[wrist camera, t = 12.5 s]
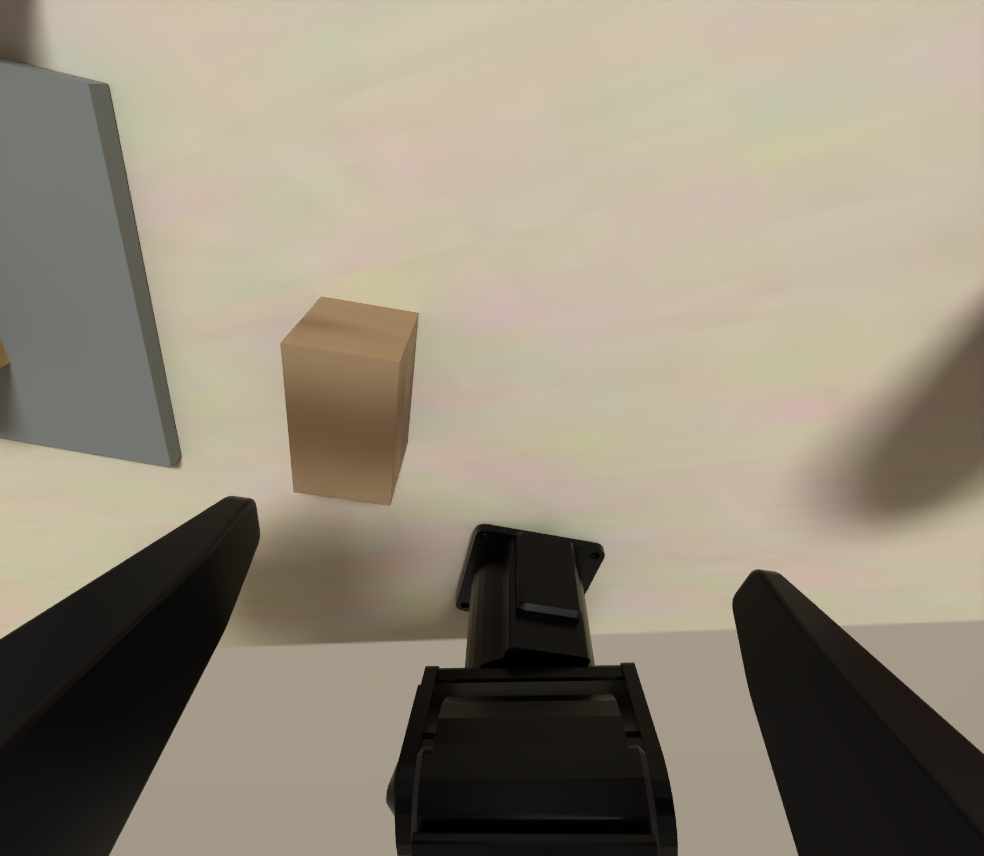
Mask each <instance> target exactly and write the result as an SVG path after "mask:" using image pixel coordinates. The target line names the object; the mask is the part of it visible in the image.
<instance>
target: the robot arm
mask: <svg viewBox="0 0 984 856" xmlns="http://www.w3.org/2000/svg"><path fill="white" fill-rule="evenodd" d="M483 534H488V535H483ZM259 538H260V527H259V521H258V514H257V507H256V503H255V501H254V500H253V499H251V498H245V497H237V496H228V497H226V498H224V499H222V500H221V501H219V502H217V503H216V504H214V505H213V506H211V507H209V508H208V509H206V510H205V511H203V512H201V513H200V514H198V515H197V516H195V517H194V518H192V519H190V520H189V521H187V522H186V523H184V524H182V525H181V526H179V527H178V528H176V529H174V530H173V531H171V532H170V533H168V534H167V535H165V536H163V537H162V538H160V539H159V540H157V541H155V542H154V543H152V544H151V545H149V546H147V547H146V548H144V549H143V550H141V551H140V552H138V553H136V554H135V555H133V556H132V557H130V558H128V559H127V560H125V561H124V562H122V563H120V564H119V565H117V566H116V567H114V568H113V569H111V570H109V571H108V572H106V573H105V574H103V575H101V576H100V577H98V578H97V579H95V580H93V581H92V582H90V583H89V584H87V585H86V586H84V587H82V588H81V589H79V590H78V591H76V592H74V593H73V594H71V595H70V596H68V597H66V598H65V599H63V600H62V601H60V602H59V603H57V604H55V605H54V606H52V607H51V608H49V609H47V610H46V611H44V612H43V613H41V614H39V615H38V616H36V617H35V618H33V619H32V620H30V621H28V622H27V623H25V624H24V625H22V626H20V627H19V628H17V629H16V630H14V631H12V632H11V633H9V634H8V635H6V636H5V637H3V638H1V639H0V856H109V854H110V853H111V851H112V849H113V847H114V845H115V843H116V841H117V839H118V837H119V835H120V833H121V831H122V829H123V827H124V825H125V823H126V822H127V819H128V818H129V816H130V814H131V812H132V810H133V808H134V806H135V804H136V802H137V800H138V798H139V796H140V794H141V792H142V790H143V789H144V786H145V785H146V783H147V781H148V779H149V776H150V775H151V773H152V771H153V769H154V767H155V765H156V763H157V761H158V759H159V757H160V755H161V753H162V752H163V750H164V748H165V746H166V744H167V742H168V740H169V738H170V736H171V734H172V732H173V730H174V728H175V726H176V724H177V723H178V721H179V718H180V717H181V715H182V713H183V711H184V709H185V707H186V705H187V703H188V701H189V699H190V697H191V695H192V693H193V691H194V689H195V687H196V686H197V684H198V682H199V680H200V678H201V676H202V674H203V672H204V670H205V668H206V666H207V664H208V662H209V660H210V658H211V656H212V654H213V653H214V650H215V649H216V647H217V645H218V643H219V641H220V639H221V637H222V635H223V633H224V631H225V628H226V626H227V624H228V621H229V619H230V616H231V614H232V611H233V609H234V606H235V604H236V601H237V598H238V596H239V593H240V591H241V588H242V585H243V583H244V580H245V577H246V575H247V572H248V570H249V567H250V564H251V562H252V559H253V557H254V554H255V551H256V549H257V546H258V543H259ZM604 556H605V554H604V549H603V546H602V545H600V544H598V543H593V542H587V541H582V540H576V539H570V538H564V537H558V536H552V535H547V534H541V533H535V532H529V531H523V530H518V529H512V528H506V527H500V526H494V525H488V524H483V525H480V526H478V527H477V528H476V530H475V534H474V537H473V541H472V545H471V548H470V552H469V555H468V559H467V562H466V566H465V570H464V573H463V577H462V580H461V584H460V587H459V591H458V595H457V599H456V607H457V608H458V609H460V610H463V611H469V622H468V636H467V649H466V663H465V668H439V666H426V667H425V671H424V675H423V679H422V682H421V685H418V688H417V692H416V695H415V699H414V703H413V707H412V711H411V715H410V719H409V722H408V726H407V730H406V734H405V738H404V742H403V745H402V749H401V753H400V757H399V761H398V763H397V765H396V768H395V770H394V773H393V776H392V778H391V780H390V783H389V785H388V789H387V797H386V801H387V805H388V806H389V808H390V809H391V811H392V813H393V814H394V816H395V835H396V848H397V854H398V856H677V855H678V845H677V844H678V842H677V828H676V818H675V811H674V805H673V797H672V792H671V787H670V781H669V777H668V772H667V768H666V764H665V760H664V757H663V753H662V750H661V747H660V743H659V740H658V737H657V734H656V731H655V727H654V724H653V721H652V718H651V715H650V712H649V708H648V705H647V702H646V699H645V696H644V692H643V690H642V686H641V683H640V680H639V677H638V673H637V670H636V667H635V664H634V663H620V665H605V666H604V665H601V666H595V664H594V657H593V650H592V643H591V636H590V630H589V623H588V616H587V610H586V603H585V596H584V595H585V593H586V591H587V590H588V588H589V586H590V584H591V582H592V580H593V578H594V576H595V574H596V572H597V570H598V569H599V567H600V565H601V563H602V561H603V559H604ZM732 607H733V614H734V619H735V624H736V629H737V634H738V639H739V644H740V649H741V654H742V659H743V664H744V668H745V674H746V679H747V683H748V688H749V692H750V696H751V699H752V703H753V706H754V710H755V713H756V716H757V720H758V723H759V726H760V729H761V733H762V736H763V739H764V743H765V746H766V749H767V753H768V756H769V759H770V763H771V766H772V769H773V772H774V776H775V779H776V782H777V786H778V789H779V792H780V796H781V799H782V802H783V806H784V809H785V812H786V816H787V819H788V822H789V826H790V829H791V832H792V835H793V839H794V842H795V845H796V849H797V852H798V855H799V856H984V754H983V753H982V752H981V751H980V750H979V749H977V748H976V747H975V746H974V745H973V744H972V743H971V742H970V741H968V740H967V739H966V738H965V737H964V736H963V735H962V734H961V733H959V732H958V731H957V730H956V729H955V728H954V727H953V726H952V725H950V724H949V723H948V722H947V721H946V720H945V719H943V718H942V717H941V716H940V715H939V714H938V713H937V712H936V711H935V710H934V709H932V708H931V707H930V706H929V705H928V704H927V703H926V702H924V701H923V700H922V699H921V698H920V697H919V696H918V695H916V694H915V693H914V692H913V691H912V690H911V689H910V688H909V687H908V686H906V685H905V684H904V683H903V682H902V681H901V680H899V679H898V678H897V677H896V676H895V675H894V674H893V673H892V672H891V671H889V670H888V669H887V668H886V667H885V666H884V665H883V664H881V663H880V662H879V661H878V660H877V659H876V658H875V657H874V656H872V655H871V654H870V653H869V652H868V651H867V650H866V649H865V648H863V647H862V646H861V645H860V644H859V643H858V642H857V641H856V640H854V639H853V638H852V637H851V636H850V635H849V634H848V633H847V632H845V631H844V630H843V629H842V628H841V627H840V626H839V625H838V624H836V623H835V622H834V621H833V620H832V619H831V618H830V617H828V616H827V615H826V614H825V613H824V612H823V611H822V610H821V609H819V608H818V607H817V606H816V605H815V604H814V603H813V602H812V601H810V600H809V599H808V598H807V597H806V596H805V595H804V594H803V593H801V592H800V591H799V590H798V589H797V588H796V587H795V586H793V585H792V584H791V583H790V582H789V581H788V580H787V579H786V578H784V577H783V576H782V575H781V574H779V573H777V572H774V571H767V570H760V569H757V570H754V571H752V572H751V573H750V574H749V576H748V577H747V578H746V580H745V581H744V582H743V584H742V585H741V587H740V588H739V589H738V591H737V592H736V593H735V595H734V598H733V603H732Z"/></svg>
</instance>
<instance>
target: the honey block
mask: <svg viewBox="0 0 984 856" xmlns="http://www.w3.org/2000/svg"><path fill="white" fill-rule="evenodd" d="M8 363H10V360H9V358H8V355H7V353H6V350H5V348H4V345H3V343H2V340H1V338H0V368H1V367H3V366H5V365H7V364H8Z"/></svg>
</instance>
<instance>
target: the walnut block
mask: <svg viewBox="0 0 984 856" xmlns="http://www.w3.org/2000/svg"><path fill="white" fill-rule="evenodd" d="M418 314H419V313H416V312H410V311H404V310H398V309H392V308H386V307H380V306H374V305H368V304H362V303H356V302H350V301H345V300H339V299H333V298H327V297H321V298H320V299H319V300H318V301H317V302H316V303H315V305H314V306H313V307H312V308H311V309H310V310H309V311H308V312H307V314H306V315H305V316H304V317H303V318H302V319H301V320H300V321H299V323H298V324H297V325H296V326H295V327H294V328H293V329H292V331H291V332H290V333H289V334H288V335H287V336H286V337H285V338H284V340H283V341H282V342H281V354H282V365H283V376H284V388H285V399H286V410H287V421H288V433H289V444H290V455H291V466H292V478H293V489H294V492H296V493H303V494H311V495H318V496H325V497H332V498H340V499H347V500H354V501H361V502H369V503H376V504H383V505H390V504H391V500H392V497H393V493H394V490H395V486H396V482H397V479H398V475H399V472H400V468H401V465H402V461H403V457H404V454H405V450H406V447H407V443H408V432H409V421H410V409H411V397H412V385H413V373H414V362H415V350H416V338H417V326H418Z"/></svg>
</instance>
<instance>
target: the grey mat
mask: <svg viewBox="0 0 984 856" xmlns="http://www.w3.org/2000/svg"><path fill="white" fill-rule="evenodd" d="M0 338H1V340H2V343H3V345H4V348H5V350H6V353H7V355H8V358H9V360H10V363H8V364H7V365H5V366H3V367H1V368H0V438H1V439H7V440H13V441H18V442H24V443H30V444H36V445H42V446H47V447H53V448H59V449H65V450H71V451H76V452H82V453H88V454H94V455H100V456H105V457H111V458H117V459H123V460H129V461H135V462H140V463H146V464H152V465H158V466H164V467H169V468H171V467H172V466H173V465H174V464H175V463H176V462H177V461H178V459H179V458H180V457H181V453H180V448H179V443H178V438H177V433H176V427H175V422H174V417H173V412H172V407H171V402H170V397H169V392H168V387H167V382H166V377H165V372H164V366H163V361H162V356H161V351H160V346H159V341H158V336H157V331H156V326H155V321H154V316H153V310H152V305H151V300H150V295H149V290H148V285H147V280H146V275H145V270H144V265H143V260H142V255H141V249H140V244H139V239H138V234H137V229H136V224H135V219H134V214H133V209H132V204H131V199H130V193H129V188H128V183H127V178H126V173H125V168H124V163H123V158H122V153H121V148H120V143H119V138H118V132H117V127H116V122H115V117H114V112H113V107H112V102H111V97H110V92H109V87H108V84H106V83H102V82H98V81H94V80H90V79H86V78H82V77H78V76H73V75H69V74H65V73H61V72H57V71H53V70H49V69H45V68H40V67H36V66H32V65H28V64H24V63H20V62H16V61H12V60H7V59H3V58H0Z"/></svg>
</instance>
